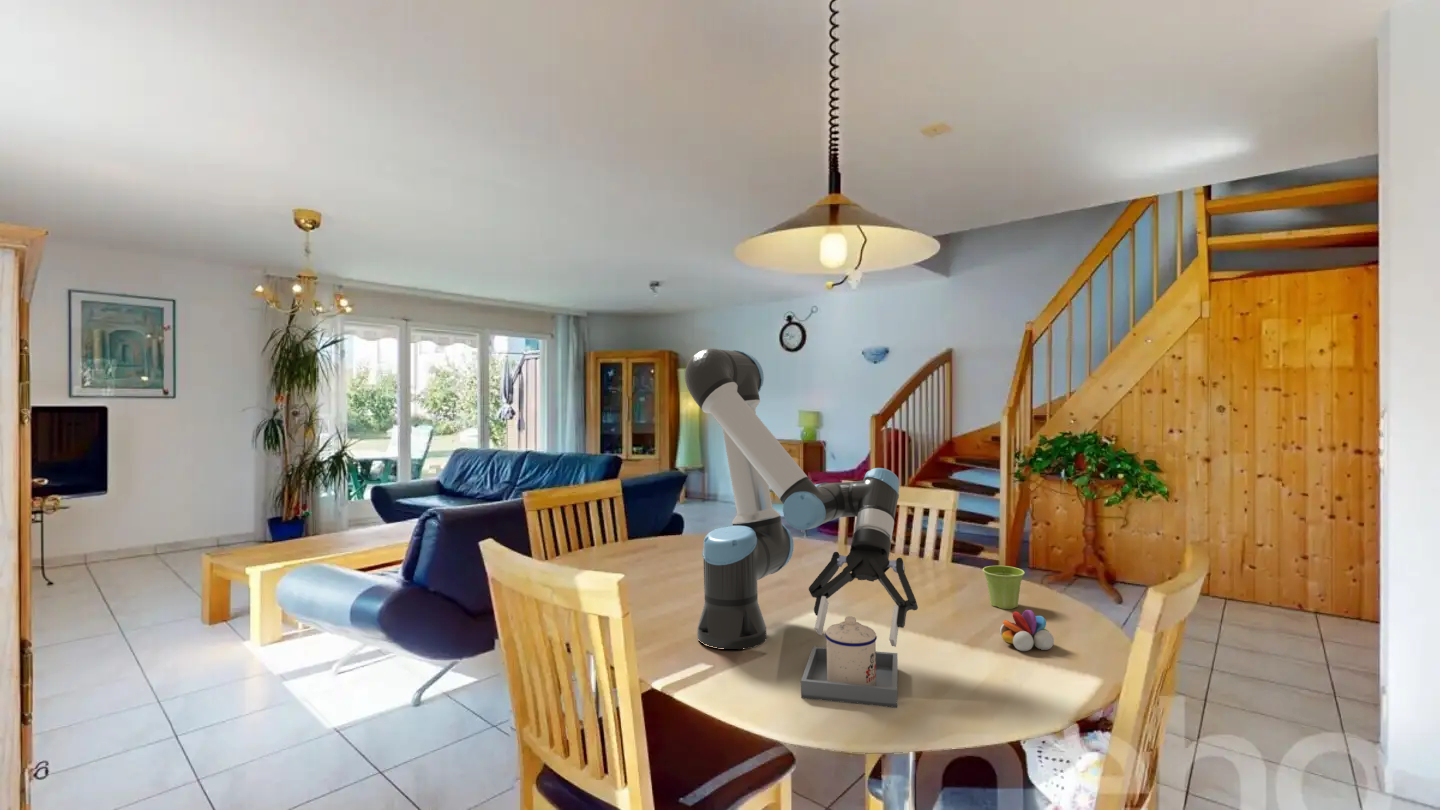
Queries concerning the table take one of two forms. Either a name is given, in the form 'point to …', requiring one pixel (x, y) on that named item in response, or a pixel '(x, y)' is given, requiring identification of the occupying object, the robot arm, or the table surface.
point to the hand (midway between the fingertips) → (854, 637)
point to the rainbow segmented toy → (1027, 631)
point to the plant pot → (1003, 585)
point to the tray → (822, 689)
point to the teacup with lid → (851, 653)
